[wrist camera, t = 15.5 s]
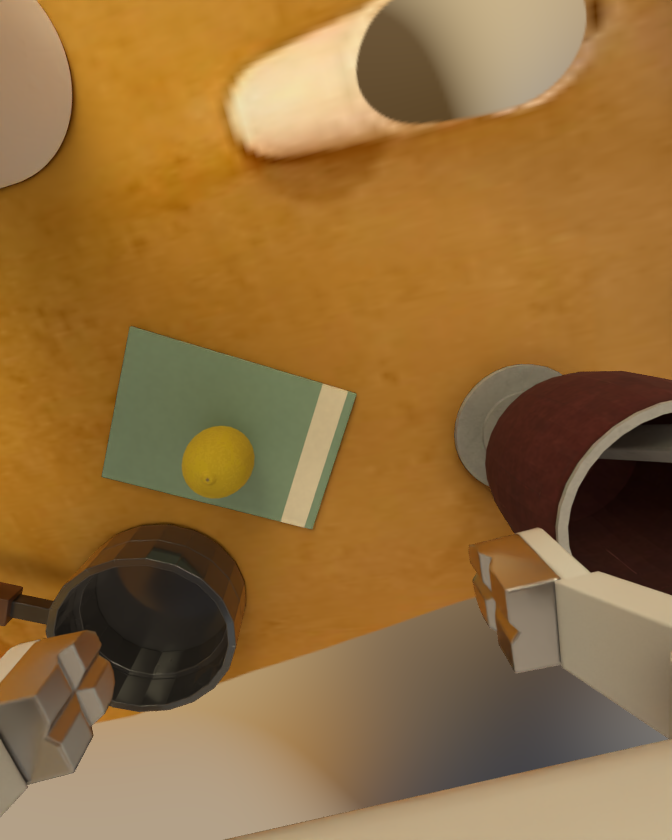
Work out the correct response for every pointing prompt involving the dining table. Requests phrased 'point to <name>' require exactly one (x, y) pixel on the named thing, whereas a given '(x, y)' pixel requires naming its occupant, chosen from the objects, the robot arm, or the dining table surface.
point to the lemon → (218, 462)
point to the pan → (157, 613)
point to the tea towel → (225, 406)
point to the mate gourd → (578, 463)
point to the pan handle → (21, 605)
